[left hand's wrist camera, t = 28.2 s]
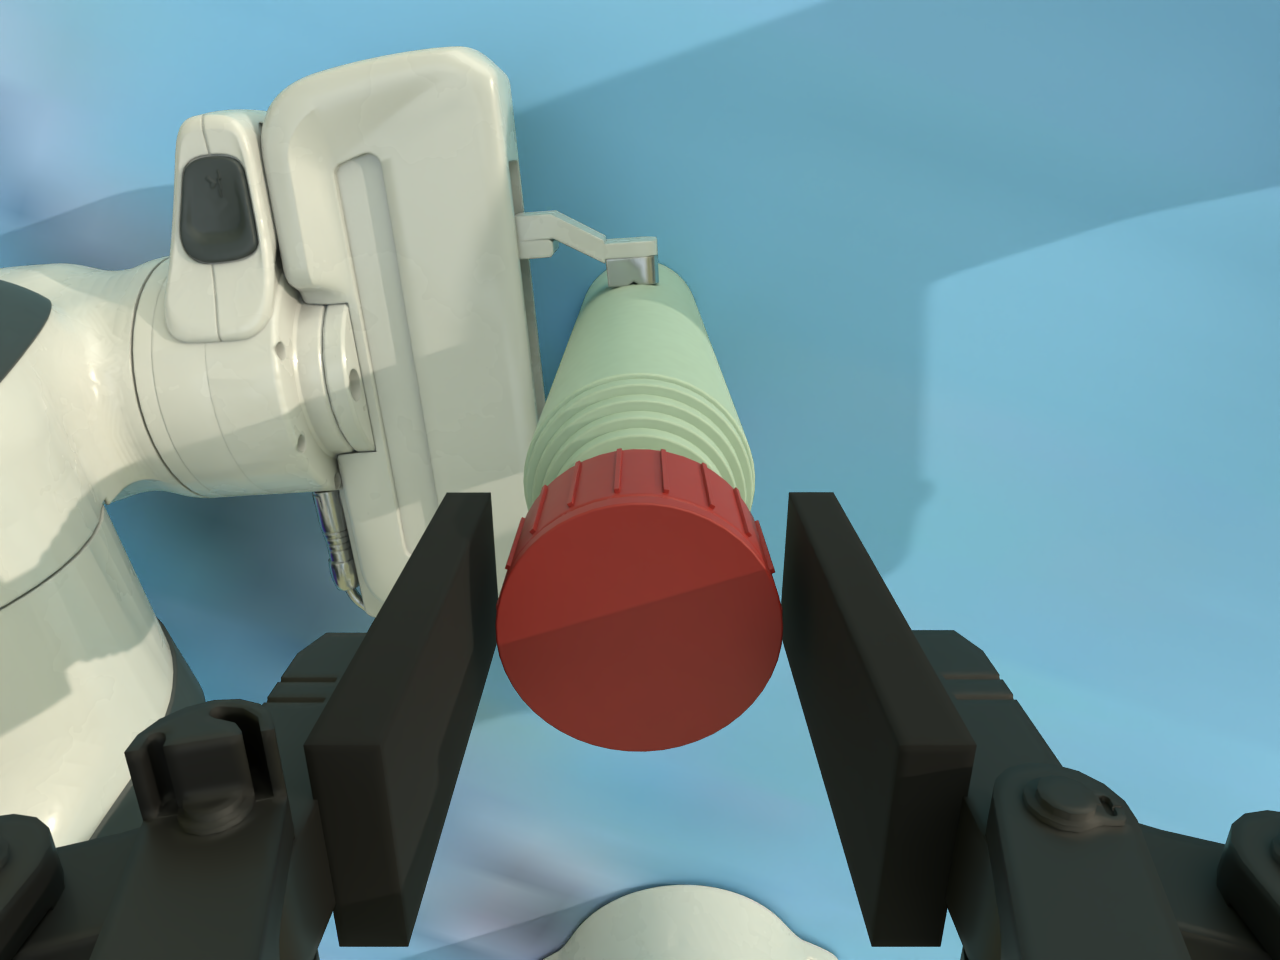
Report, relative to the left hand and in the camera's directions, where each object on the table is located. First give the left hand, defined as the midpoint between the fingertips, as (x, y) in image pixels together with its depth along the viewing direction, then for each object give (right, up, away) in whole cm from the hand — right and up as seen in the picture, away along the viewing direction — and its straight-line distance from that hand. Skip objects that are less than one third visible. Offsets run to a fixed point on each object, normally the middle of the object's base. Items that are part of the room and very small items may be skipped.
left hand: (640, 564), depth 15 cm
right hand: (+1, +6, +16) cm, 17 cm away
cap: (0, -1, -2) cm, 2 cm away
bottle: (0, +8, +22) cm, 23 cm away
